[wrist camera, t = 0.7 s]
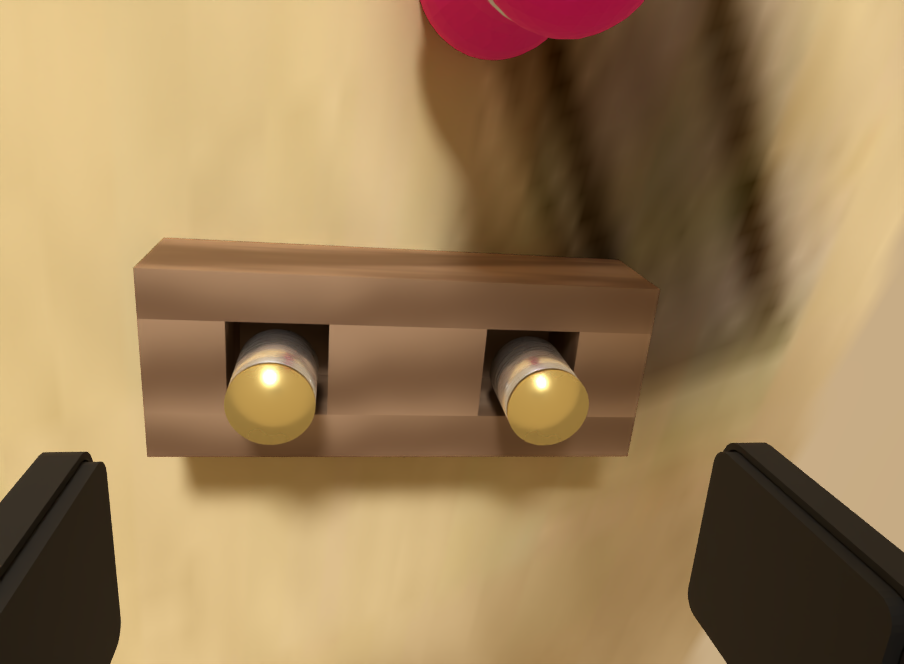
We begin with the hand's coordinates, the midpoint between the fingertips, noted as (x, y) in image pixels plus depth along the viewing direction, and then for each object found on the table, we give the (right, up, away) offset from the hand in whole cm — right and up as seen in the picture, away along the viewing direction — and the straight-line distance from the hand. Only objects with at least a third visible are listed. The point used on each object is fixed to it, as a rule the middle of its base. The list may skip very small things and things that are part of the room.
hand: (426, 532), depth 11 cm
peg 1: (-8, +1, +25) cm, 26 cm away
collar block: (-3, +3, +31) cm, 32 cm away
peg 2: (+4, +1, +27) cm, 28 cm away
